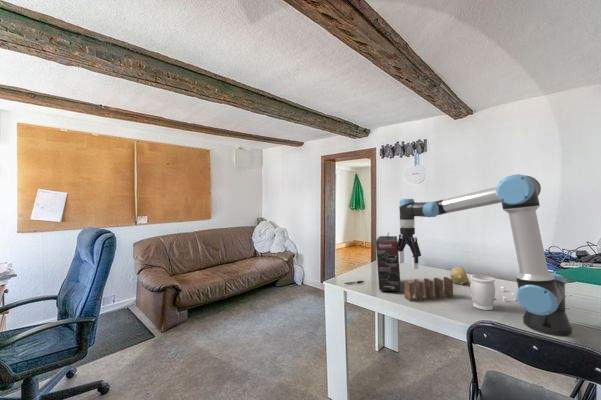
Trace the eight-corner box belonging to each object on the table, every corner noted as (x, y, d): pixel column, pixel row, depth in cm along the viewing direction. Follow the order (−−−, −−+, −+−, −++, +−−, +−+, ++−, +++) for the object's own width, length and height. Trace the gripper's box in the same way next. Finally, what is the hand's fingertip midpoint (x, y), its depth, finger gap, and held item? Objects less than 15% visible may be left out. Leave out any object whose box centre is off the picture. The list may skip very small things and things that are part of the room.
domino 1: (407, 297, 150) (407, 279, 150) (413, 301, 145) (412, 282, 145) (404, 298, 149) (404, 280, 149) (409, 301, 145) (409, 283, 144)
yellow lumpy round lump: (468, 290, 167) (474, 277, 171) (462, 279, 162) (468, 265, 166) (451, 286, 175) (457, 273, 179) (445, 275, 170) (451, 262, 174)
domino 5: (446, 294, 153) (446, 276, 153) (453, 297, 148) (452, 279, 148) (444, 294, 153) (443, 276, 153) (450, 297, 148) (449, 279, 148)
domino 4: (437, 295, 152) (436, 277, 152) (443, 298, 148) (442, 280, 147) (434, 295, 152) (434, 277, 152) (440, 298, 147) (439, 280, 147)
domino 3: (427, 295, 152) (427, 278, 151) (433, 299, 147) (432, 281, 146) (424, 296, 151) (424, 278, 151) (430, 299, 146) (429, 281, 146)
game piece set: (491, 287, 163) (491, 281, 163) (529, 299, 144) (529, 291, 144) (468, 292, 156) (468, 286, 156) (505, 305, 137) (504, 297, 137)
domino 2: (417, 296, 151) (417, 279, 151) (423, 300, 146) (422, 281, 146) (414, 297, 150) (414, 279, 150) (420, 300, 145) (419, 282, 145)
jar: (472, 301, 142) (471, 273, 142) (496, 305, 136) (495, 276, 135) (469, 308, 134) (468, 278, 134) (494, 313, 127) (494, 281, 127)
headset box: (400, 291, 155) (397, 234, 156) (377, 290, 159) (375, 234, 161) (400, 281, 178) (397, 231, 180) (380, 280, 182) (378, 231, 184)
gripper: (427, 229, 135) (429, 271, 135) (401, 224, 160) (402, 260, 160) (414, 229, 134) (415, 272, 134) (389, 225, 158) (390, 261, 159)
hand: (408, 265), depth 147 cm, fingers open, 13 cm apart
